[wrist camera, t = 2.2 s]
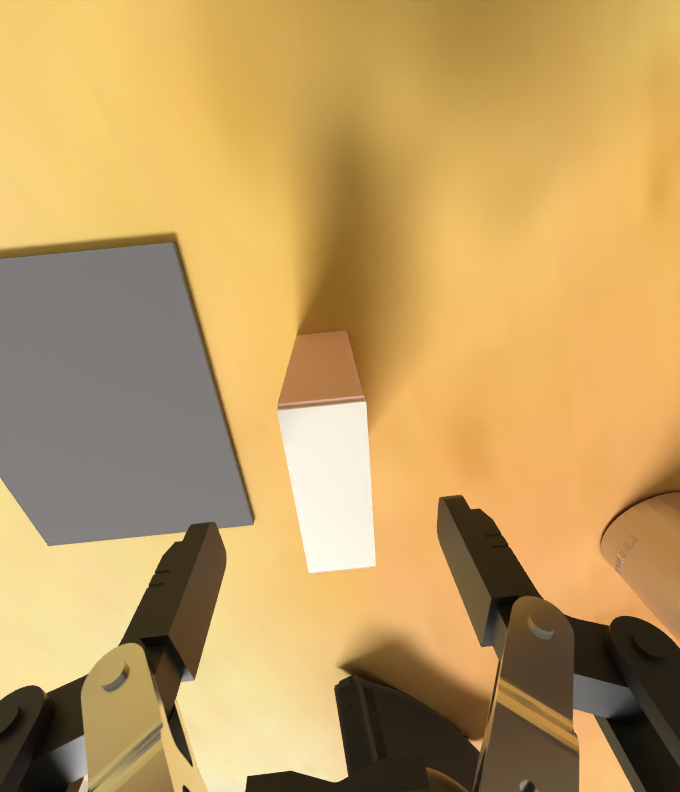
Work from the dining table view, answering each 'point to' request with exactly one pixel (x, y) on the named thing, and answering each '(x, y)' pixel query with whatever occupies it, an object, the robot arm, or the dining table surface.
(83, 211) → the dining table surface
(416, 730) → the magazine
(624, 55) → the dining table surface
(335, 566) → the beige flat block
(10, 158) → the dining table surface
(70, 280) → the mat
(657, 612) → the robot arm
